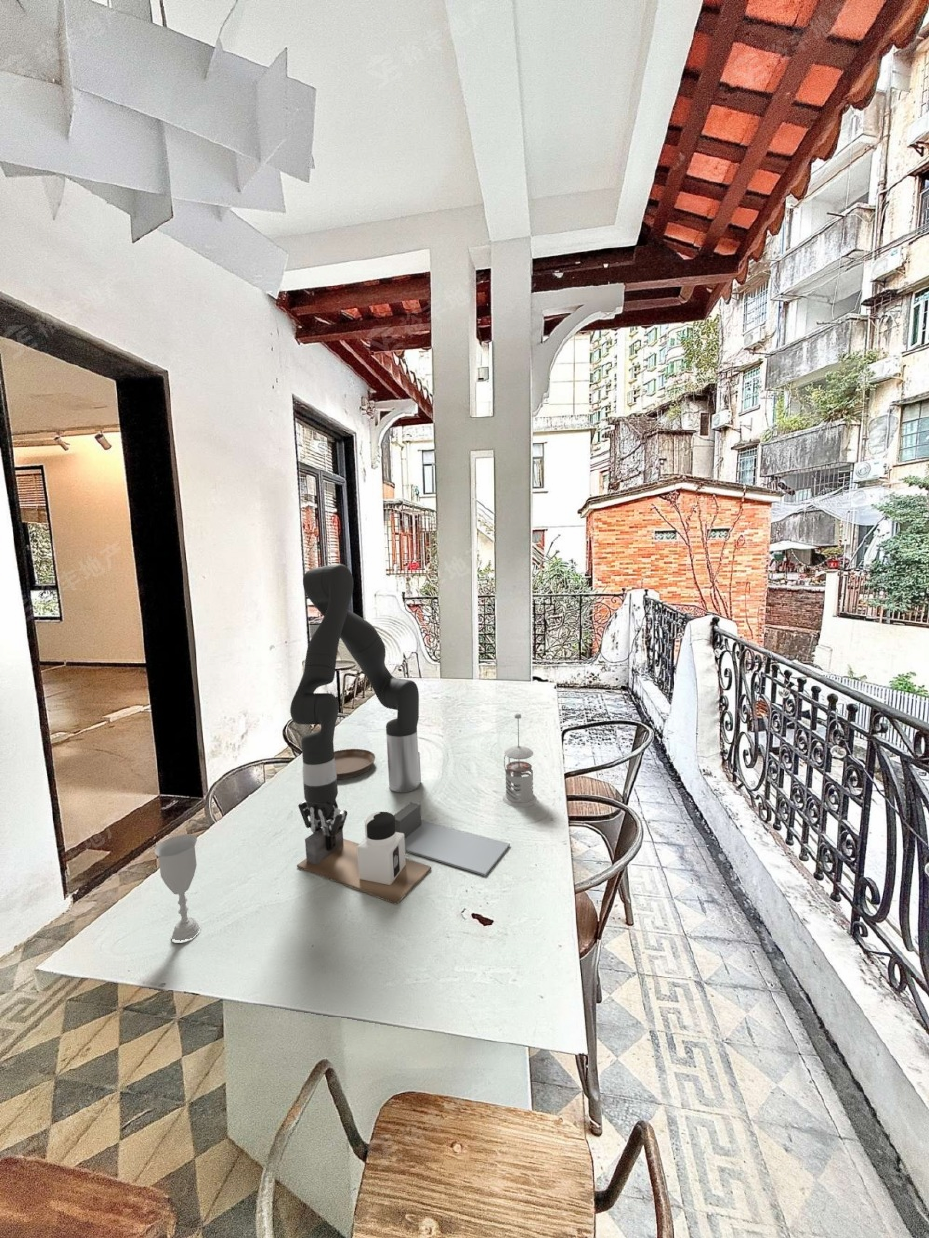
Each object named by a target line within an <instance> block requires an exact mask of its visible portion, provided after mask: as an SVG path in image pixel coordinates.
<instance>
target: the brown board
mask: <svg viewBox="0 0 929 1238" xmlns="http://www.w3.org/2000/svg"><path fill="white" fill-rule="evenodd" d="M329 828H330V829H331V825H330V826H329ZM343 831H344V829H342V831H341V832H339V833H338V834H337V835H335V836H336V846H335V848H333V849H332V850H331V851H327V850H326V834H325V829H324V827H321V829H319V830H318V831H316V832H315V833H313V832H312V834H310V835H308V836H307V837H305V839H304V844H305V859H303V860H302V861H300V862H299V863H298V864H297V865H296V867H297V868H299V869H302V870H305V871H306V872H310V873H313V874H315V875H317V876H320V877H323V878H325V879H327V880H331V881H334V882H336V883H338V884H342V885H344V886H348V887H349V888H351V889H355V890H358V891H360V892H363V893H366V894H367V895H368V894H369V895H372V896H373V897H376V898H379V899H382V900H385V901H387V902H390V903H392V904H395V905H398V903H400V901H401V900H403V898H405V896H406V895H407V894H408V893H409V892H410V891H411V890H412V889H413V888H414V887H415V886H416V885H417V884H418V883H419V882H420V881H421V880H422V879H423V878H424V877H425V876H426V875H427V874H428V873H429V872H430V871H431V870H432V866H431V865H427V864H424V863H421V862H418V861H415V860H411V859H408V858H407V857H405V859H406V865H405V866H404V868H403V869H402V870H401V872H400V873H399V874H398V876H397V877H396V878H395V880H394V881H393V883H392V884H391V885H386V884H381V883H376V882H371V881H366V880H361V879H359V869H358V853H357V846H358V845H359V844H360V843H358V842H355V841H351V840H349V839H346V838H344V832H343Z"/></svg>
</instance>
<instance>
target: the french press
mask: <svg viewBox="0 0 929 1238" xmlns="http://www.w3.org/2000/svg"><path fill="white" fill-rule="evenodd" d="M514 719H516V720H517V745H514V746H510V747H508V748H506V749H505V750H504V753H503V754H504V757H503V768H504V772H505V794H504V795H503V796H502V801H503V803H504V804H506V805H508V806H511V807H515V808H525V807H531V806H532V805H534V804H536V803H537V801H538V798H537V797H538V796H536V795H535V794H534V769H532V767H533V766H532V765H531V763H529V762H526V761H522V760H527V759H531V758H532V756H533V755H534V751H533V750H532V749H531V748H529V747H527V746H524V745H523V746H522V745H520V735H519V734H520V731H519V729H520V728H519V722H520V721H519V719H522V715H521V714H520V713H516V714H515V715H514ZM506 757H507V758H508V764H506V763H505V759H506ZM510 759H513V760H517V761H511V762H510Z"/></svg>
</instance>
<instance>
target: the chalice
mask: <svg viewBox="0 0 929 1238" xmlns="http://www.w3.org/2000/svg"><path fill="white" fill-rule="evenodd" d="M197 841H198V838H197V836H195V835H194V834H187V833H186V834H178V835H175V836H172V837H170V838H168V839H165V840H164V841H162V842H160V843H159V844H158V845H157V846H156V848H155V849H154V854H155V855H156V856H157V858H158V865H159V872H160V873H159V874H160V878H161V879H162V881H163V882H164V884H165V886H166V887H167V888H168V889H169V890H170V891H171V893H172V894H174V895H178V900H177V904H178V905H179V907H180V908H179V910H178V914H179V915H180V916H181V920H179V921H178V922H177V923H176V924H175V926H174V928H173V929H174V930H173V931H172V935H171V937H172V939H175V940H180V941H181V940H185V939H190V938H193V937H194V936H195V935H196V934H197V933H198V931H199V929H200V927H201V926H200V925H199V923H198V922H197V920H196V919H195V918H192V917H188V912H189V909H190V908H189V907H187V905H186V904H187V902H188V898H186V895H185V893H186V892H187V891H188V890H189V889H190V888H191V885H192V882H193V879H194V877H195V873H196V871H197V866H198V865H197V856H196V847H195V846H196V844H197ZM199 926H200V927H199Z"/></svg>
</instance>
